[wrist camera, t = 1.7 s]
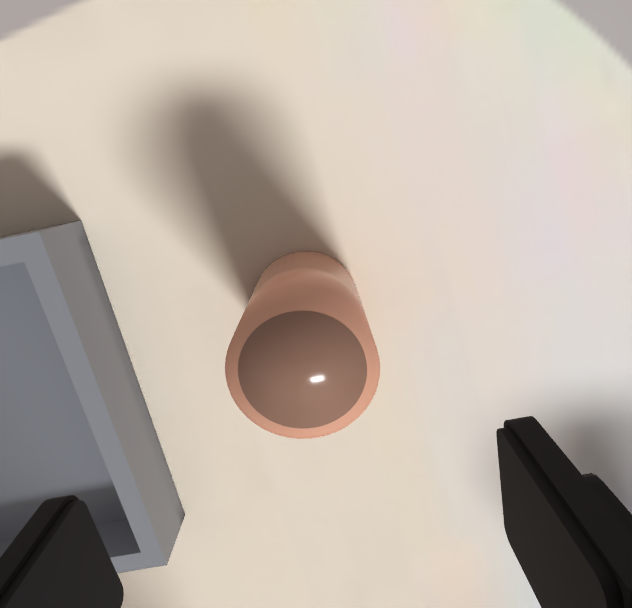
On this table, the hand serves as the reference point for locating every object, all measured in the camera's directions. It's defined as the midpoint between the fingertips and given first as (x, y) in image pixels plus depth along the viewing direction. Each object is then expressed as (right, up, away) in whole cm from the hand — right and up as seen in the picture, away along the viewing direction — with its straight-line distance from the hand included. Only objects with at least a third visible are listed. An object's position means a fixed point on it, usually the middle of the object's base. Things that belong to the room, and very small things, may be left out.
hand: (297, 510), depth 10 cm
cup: (0, +5, +16) cm, 17 cm away
